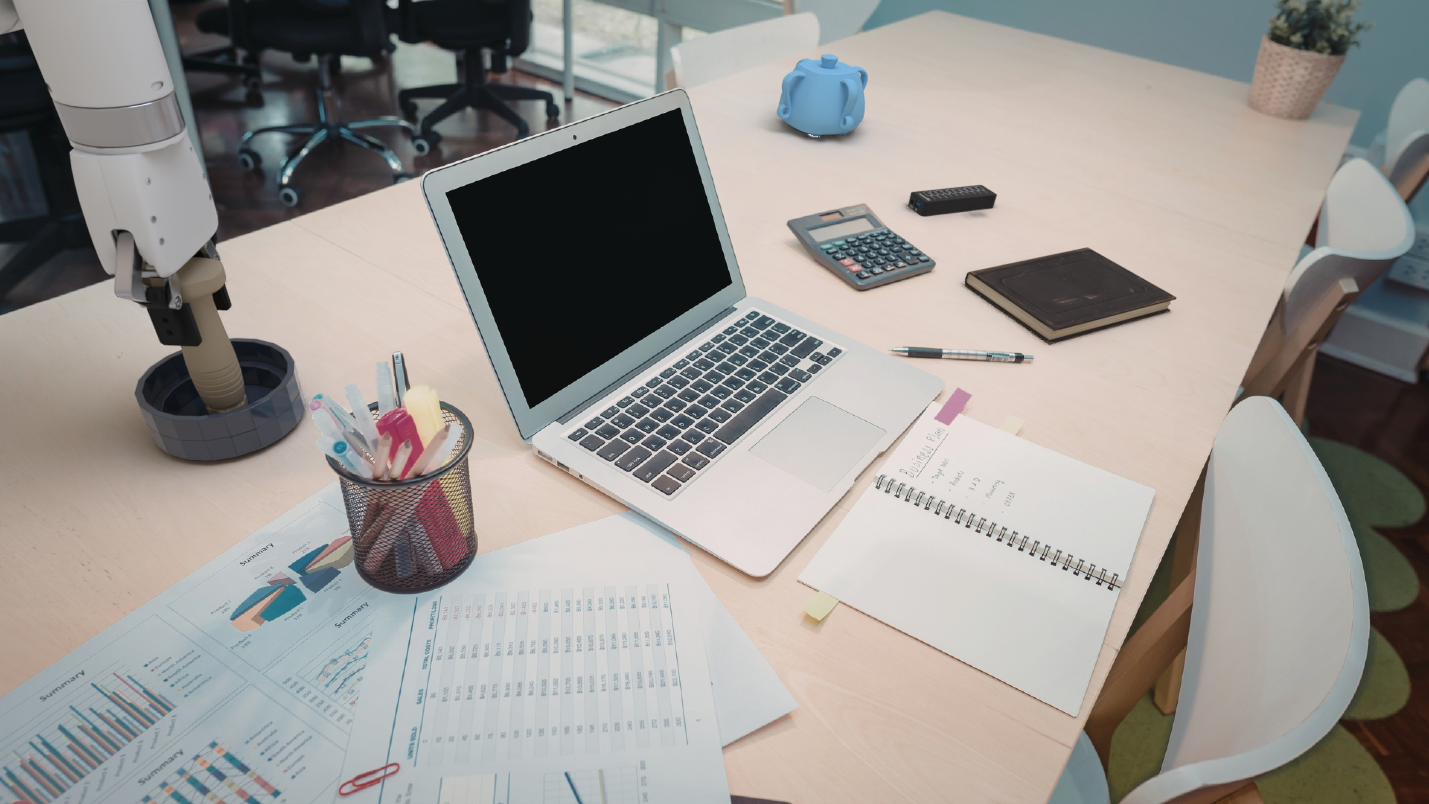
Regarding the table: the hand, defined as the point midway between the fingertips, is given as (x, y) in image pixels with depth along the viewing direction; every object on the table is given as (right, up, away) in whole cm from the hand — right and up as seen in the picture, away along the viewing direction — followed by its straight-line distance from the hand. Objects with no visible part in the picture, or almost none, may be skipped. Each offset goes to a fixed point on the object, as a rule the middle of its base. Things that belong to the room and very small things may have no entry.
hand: (197, 323), depth 71 cm
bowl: (-1, -9, +7) cm, 11 cm away
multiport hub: (+84, +25, +62) cm, 108 cm away
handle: (-1, -8, +6) cm, 10 cm away
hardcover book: (+93, +7, +40) cm, 102 cm away
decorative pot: (+66, +47, +88) cm, 119 cm away
